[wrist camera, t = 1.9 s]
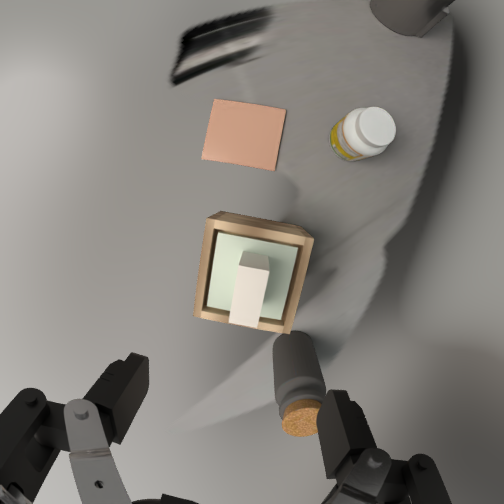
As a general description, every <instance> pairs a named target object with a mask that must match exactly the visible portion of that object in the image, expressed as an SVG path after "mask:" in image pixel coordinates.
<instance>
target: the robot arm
mask: <svg viewBox="0 0 504 504" xmlns="http://www.w3.org/2000/svg"><path fill="white" fill-rule="evenodd" d="M454 1H455V0H371V1H370V7H371V10H372V12H373V13H374V15H375V16H376V17H377V19H378V20H379V21H380V22H382V23H383V24H384V25H385V26H387V27H388V28H389V29H391V30H393V31H395V32H397V33H399V34H403V35H408V36H412V35H416V36H418V37H422V36H423V35H424V34H425V33H427V32H428V31H429V30H430V29H431V28H432V27H434V26H435V25H436V24H437V23H438V22H440V21H441V20H442V19H443V18H444V17H446V16H447V15H448V14H449V9H448V6H449V5H450V4H451V3H453V2H454ZM148 388H149V359H148V357H146V356H143V355H139V354H136V353H130V355H129V356H128V357H127V359H126V360H125V361H122V360H117V361H115V362H113V363H111V364H110V365H109V366H108V367H107V368H106V370H105V371H104V373H102V375H101V376H100V378H99V379H98V380H97V381H96V382H95V384H94V385H93V386H92V387H91V389H90V390H89V391H88V392H87V394H86V395H85V396H84V398H83V399H74V400H72V401H70V402H68V403H67V404H60V403H55V402H51V401H47V399H46V396H45V395H44V393H43V392H42V391H40V390H38V389H35V388H26V389H23V390H22V391H20V392H19V393H18V394H17V396H16V397H15V398H14V399H13V400H12V401H11V402H10V404H9V405H8V406H7V407H6V408H5V409H4V411H3V412H2V413H1V414H0V504H33V502H34V500H35V498H36V496H37V494H38V492H39V489H40V488H41V486H42V484H43V482H44V480H45V478H46V476H47V474H48V473H49V471H50V469H51V467H52V465H53V463H54V462H55V460H56V458H57V456H58V454H59V452H60V450H63V451H68V452H71V453H70V454H69V458H70V463H71V467H72V471H73V475H74V478H75V482H76V485H77V489H78V492H79V495H80V498H81V501H82V504H198V503H196V502H193V501H190V500H186V499H181V498H177V497H174V496H169V495H166V494H162V497H161V499H143V500H137V501H133V502H131V500H130V498H129V496H128V494H127V491H126V489H125V487H124V485H123V482H122V480H121V478H120V475H119V473H118V470H117V468H116V465H115V462H114V460H113V457H112V454H111V451H110V449H109V447H110V445H111V443H112V442H115V443H117V444H121V442H122V440H123V439H124V437H125V435H126V433H127V431H128V429H129V427H130V425H131V423H132V421H133V419H134V417H135V415H136V413H137V411H138V409H139V408H140V406H141V404H142V402H143V400H144V398H145V396H146V394H147V391H148ZM316 425H317V430H318V435H319V440H320V445H321V450H322V456H323V461H324V466H325V471H326V477H327V479H336V480H337V484H336V485H335V486H334V487H333V489H332V490H331V491H330V493H329V494H328V495H327V497H326V498H325V499H324V501H323V502H322V503H321V504H411V502H412V504H452V503H451V501H450V498H449V495H448V493H447V490H446V488H445V486H444V483H443V481H442V478H441V476H440V474H439V471H438V469H437V467H436V464H435V463H434V461H433V459H431V457H429V456H427V455H425V454H416V455H414V456H412V458H410V459H409V461H402V460H394V459H391V457H390V455H389V454H388V453H387V452H386V451H384V450H382V449H380V448H377V446H376V443H375V441H374V438H373V435H372V433H371V431H370V428H369V425H367V420H366V418H365V415H364V413H363V410H362V408H361V407H360V406H359V405H358V404H357V403H356V402H355V401H350V398H349V396H348V393H347V391H346V390H329V391H328V392H327V394H326V396H325V399H324V401H323V403H322V405H321V407H320V409H319V411H318V414H317V418H316ZM409 496H410V498H409ZM410 499H411V502H410Z"/></svg>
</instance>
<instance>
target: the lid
mask: <svg viewBox="0 0 504 504" xmlns="http://www.w3.org/2000/svg"><path fill="white" fill-rule="evenodd" d="M297 250H298V247H297V246H296V245H291V244H285V243H280V242H275V241H270V240H265V239H260V238H254V237H249V236H244V235H239V234H233V233H228V232H223V231H219V232H218V236H217V242H216V248H215V254H214V261H213V267H212V274H211V281H210V287H209V294H208V301H207V306H208V307H213V308H218V309H223V310H228V311H230V316H229V322H228V323H233V324H238V325H244V326H249V327H255V328H257V326H258V322H259V317H266V318H272V319H278V320H281V317H282V313H283V309H284V305H285V301H286V297H287V293H288V289H289V285H290V280H291V276H292V272H293V268H294V263H295V259H296V255H297Z"/></svg>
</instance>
